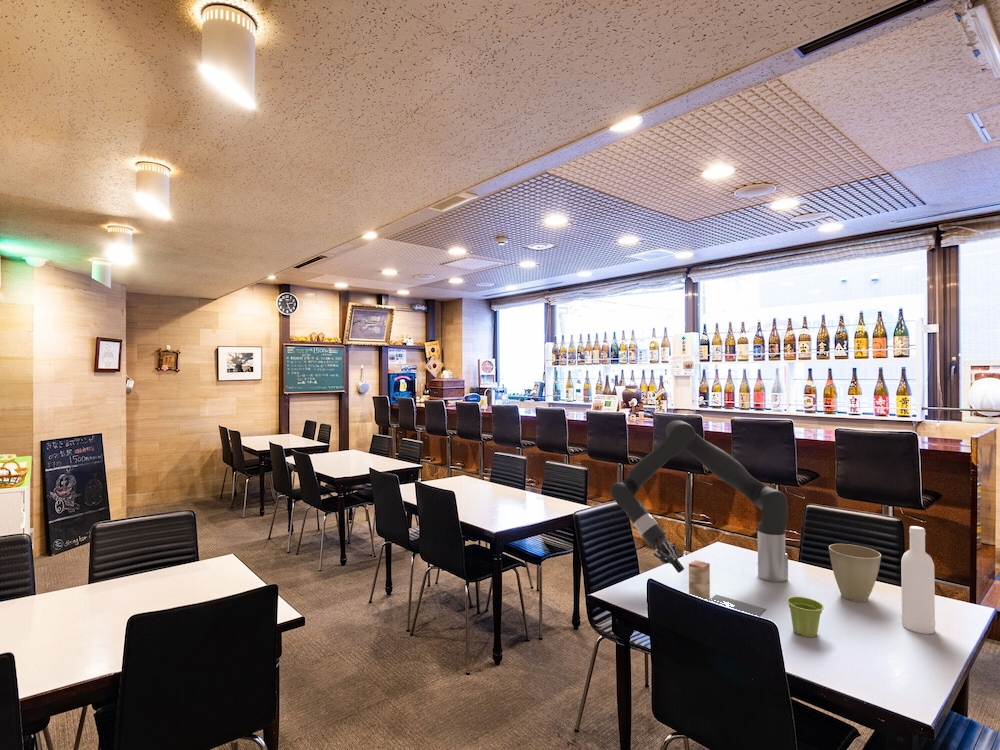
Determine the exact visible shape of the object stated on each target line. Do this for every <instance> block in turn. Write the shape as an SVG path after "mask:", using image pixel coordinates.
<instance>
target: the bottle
mask: <svg viewBox="0 0 1000 750" xmlns="http://www.w3.org/2000/svg"><path fill="white" fill-rule="evenodd" d="M908 533H909V549H908V550H907V551H905V552H904V553H903V555H902V557H901V560H900V561H901V564H900V568H901V571H900V573H901V574H900V575H901V577H900V578H901V579H900V580H901V583H900V584H901V614H900V615H901V625H902V627H904V628H905V629H907V630H909V631H911V632H914V633H917V634H923V635H931V634H933V633H935V631H936V616H935V615H936V607H935V606H936V604H935V603H936V601H935V600H936V599H935V594H936V593H935V592H936V591H935V587H936V586H935V584H936V583H935V563H934V561H933V559H932V557H931V555H930V554H928V553H927V552H926V529H925V528H924V527H921V526H917V525H910V526H909V530H908Z"/></svg>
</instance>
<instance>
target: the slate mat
mask: <svg viewBox="0 0 1000 750" xmlns="http://www.w3.org/2000/svg"><path fill="white" fill-rule="evenodd" d="M711 599H712V600H711ZM709 600H710V601H713V602H715V603H718V604H722V603H724V602H723V601H725V602H729V603H731V604H733V605H735V606H734V607H731V606H729V607H731V608H734V609H737V610H740V611H744V612H747V613H750V614H753V615H757V616H759V617H760V616H761V615H762V614H763V613H764V612H765V611H766V610H767V608H765V607H761V606H759V605H756V604H755V605H754V604H751V603H748V602H744V601H740V600H737V599H733V598H730V597H726V596H723V595H720V594H715V595H713V596H712V597H710V599H709ZM714 600H716V601H714ZM717 601H719V602H717ZM720 602H722V603H720ZM722 605H724V606H726V605H725V604H722ZM729 605H730V604H729Z"/></svg>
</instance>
